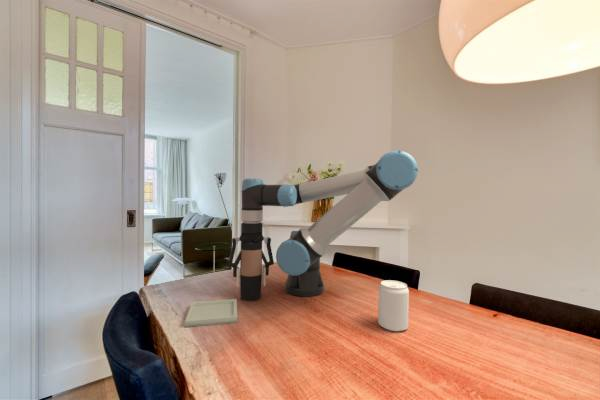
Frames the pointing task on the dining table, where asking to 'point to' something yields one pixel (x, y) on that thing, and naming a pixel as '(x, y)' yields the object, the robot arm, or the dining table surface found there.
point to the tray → (212, 313)
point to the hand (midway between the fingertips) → (250, 285)
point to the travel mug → (251, 271)
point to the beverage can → (393, 305)
